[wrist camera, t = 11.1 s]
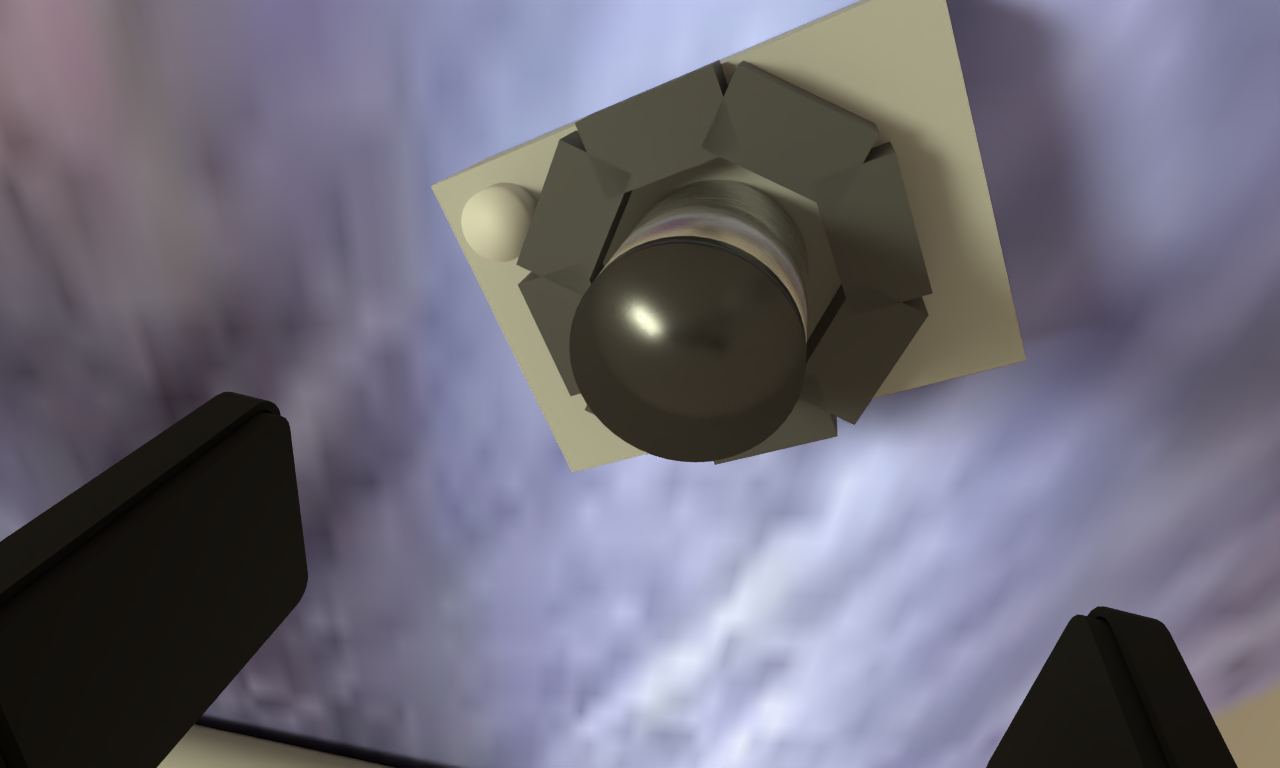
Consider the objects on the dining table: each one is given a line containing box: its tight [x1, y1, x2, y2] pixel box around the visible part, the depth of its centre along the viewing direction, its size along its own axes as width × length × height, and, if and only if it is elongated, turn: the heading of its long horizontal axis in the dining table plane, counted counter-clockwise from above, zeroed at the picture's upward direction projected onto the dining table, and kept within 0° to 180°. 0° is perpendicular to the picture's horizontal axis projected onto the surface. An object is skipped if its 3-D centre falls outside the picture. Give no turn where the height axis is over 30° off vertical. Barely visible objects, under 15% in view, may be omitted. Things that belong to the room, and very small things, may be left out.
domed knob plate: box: [431, 0, 1026, 472], centre depth 22 cm, size 14×10×6 cm
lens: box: [569, 179, 808, 462], centre depth 19 cm, size 5×5×6 cm
